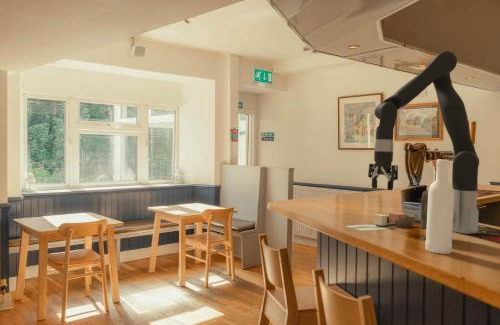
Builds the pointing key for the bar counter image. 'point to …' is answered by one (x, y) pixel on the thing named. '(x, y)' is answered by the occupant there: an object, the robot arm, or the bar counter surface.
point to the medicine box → (412, 210)
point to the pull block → (382, 219)
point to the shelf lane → (398, 224)
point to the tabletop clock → (424, 211)
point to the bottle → (440, 211)
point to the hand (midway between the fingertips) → (381, 189)
